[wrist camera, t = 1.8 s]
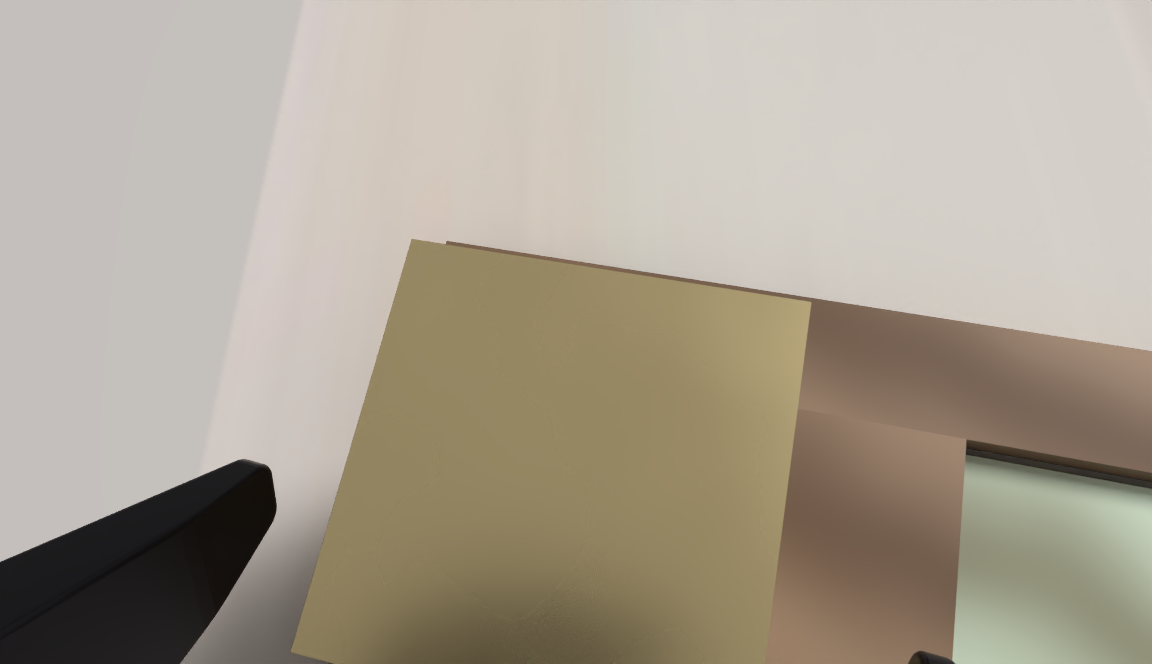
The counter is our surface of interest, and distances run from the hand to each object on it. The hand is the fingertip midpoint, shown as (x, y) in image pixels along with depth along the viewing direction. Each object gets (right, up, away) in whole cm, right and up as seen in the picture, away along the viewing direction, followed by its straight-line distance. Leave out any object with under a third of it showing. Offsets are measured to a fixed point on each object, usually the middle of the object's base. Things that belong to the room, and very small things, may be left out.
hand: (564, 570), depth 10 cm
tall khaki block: (+1, -2, +9) cm, 9 cm away
